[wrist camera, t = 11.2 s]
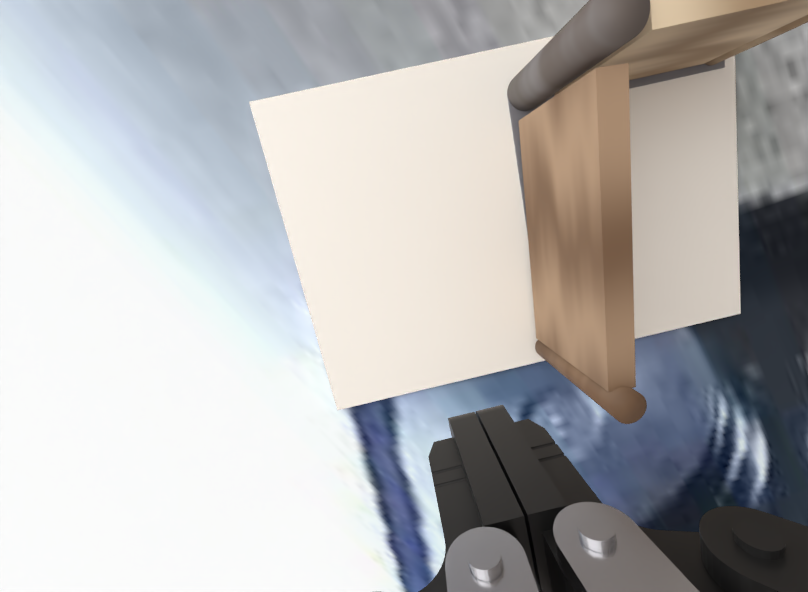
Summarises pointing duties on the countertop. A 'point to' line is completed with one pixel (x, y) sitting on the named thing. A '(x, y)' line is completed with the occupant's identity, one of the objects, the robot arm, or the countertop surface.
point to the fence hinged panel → (584, 237)
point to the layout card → (481, 215)
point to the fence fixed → (650, 39)
